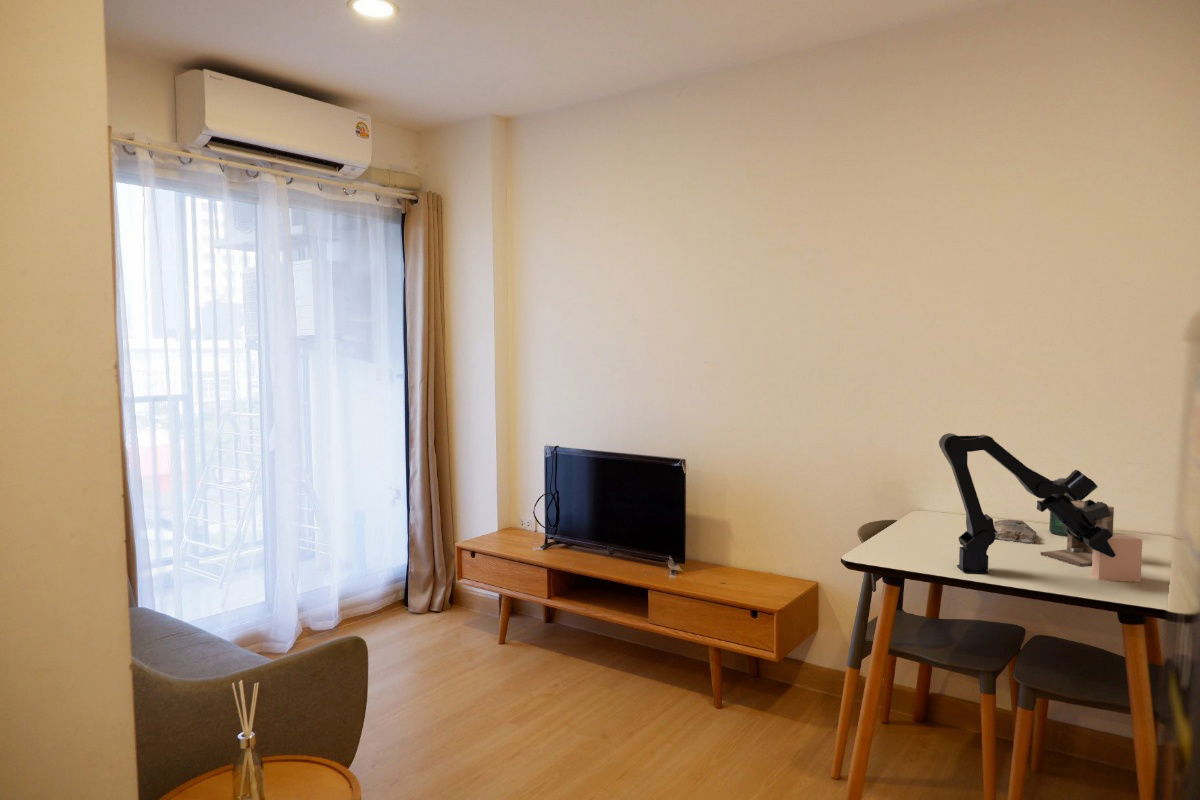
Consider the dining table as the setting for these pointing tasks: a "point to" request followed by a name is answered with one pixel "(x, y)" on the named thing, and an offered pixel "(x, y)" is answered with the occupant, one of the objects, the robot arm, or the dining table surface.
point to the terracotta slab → (1119, 560)
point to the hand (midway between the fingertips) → (1110, 554)
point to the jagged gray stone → (1014, 531)
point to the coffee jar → (1054, 523)
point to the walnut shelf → (1080, 543)
